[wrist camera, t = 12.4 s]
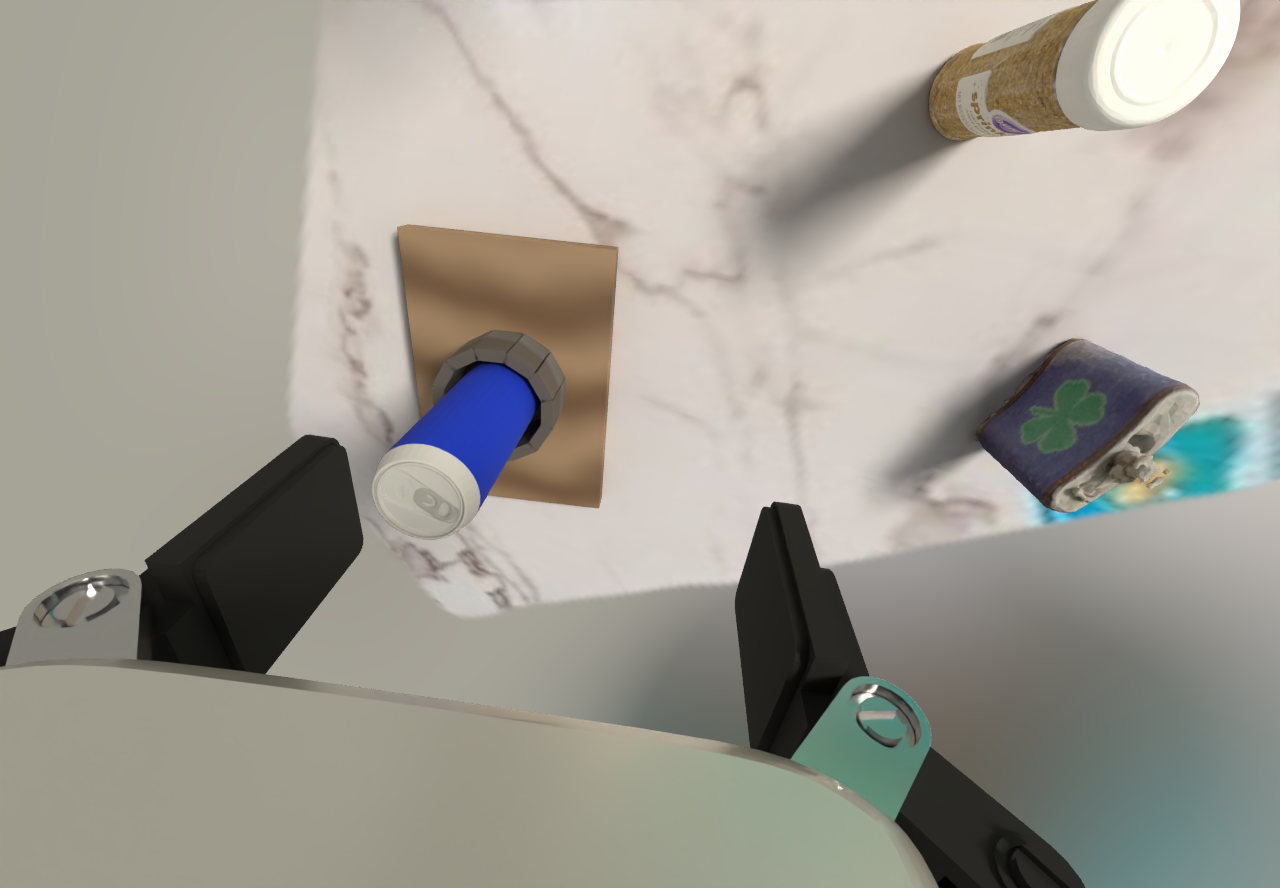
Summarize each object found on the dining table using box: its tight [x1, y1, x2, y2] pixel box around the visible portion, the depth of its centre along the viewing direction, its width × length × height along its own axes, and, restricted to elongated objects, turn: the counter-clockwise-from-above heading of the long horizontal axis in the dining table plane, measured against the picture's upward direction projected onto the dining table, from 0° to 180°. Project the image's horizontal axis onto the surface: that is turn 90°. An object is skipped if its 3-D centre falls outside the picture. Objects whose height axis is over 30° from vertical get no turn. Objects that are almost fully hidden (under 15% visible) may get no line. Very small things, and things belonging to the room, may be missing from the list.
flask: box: [976, 338, 1200, 513], centre depth 32 cm, size 9×3×11 cm, turn 152°
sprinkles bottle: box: [929, 0, 1240, 140], centre depth 23 cm, size 5×5×13 cm
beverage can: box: [372, 361, 541, 540], centre depth 31 cm, size 5×5×15 cm
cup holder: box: [397, 225, 618, 508], centre depth 37 cm, size 20×14×6 cm
